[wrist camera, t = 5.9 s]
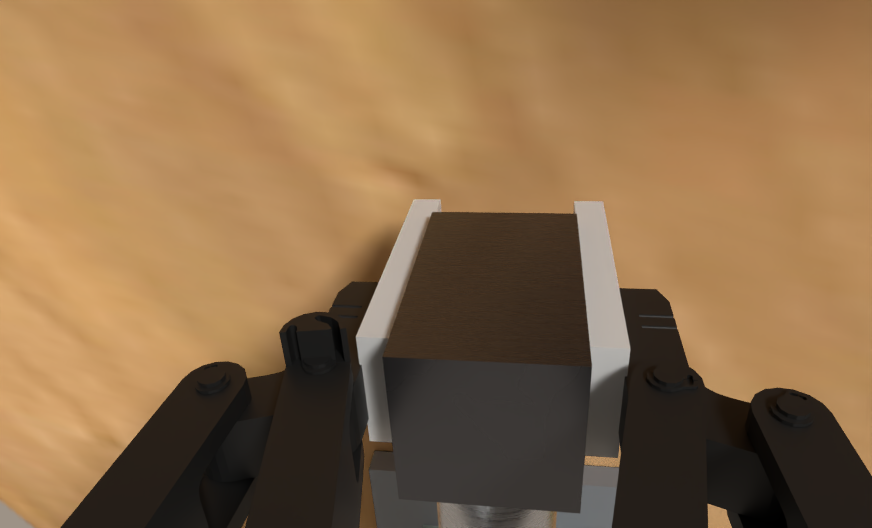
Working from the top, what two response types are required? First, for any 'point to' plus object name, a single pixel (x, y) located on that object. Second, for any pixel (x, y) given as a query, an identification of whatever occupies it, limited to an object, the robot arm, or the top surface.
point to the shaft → (492, 371)
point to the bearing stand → (418, 520)
